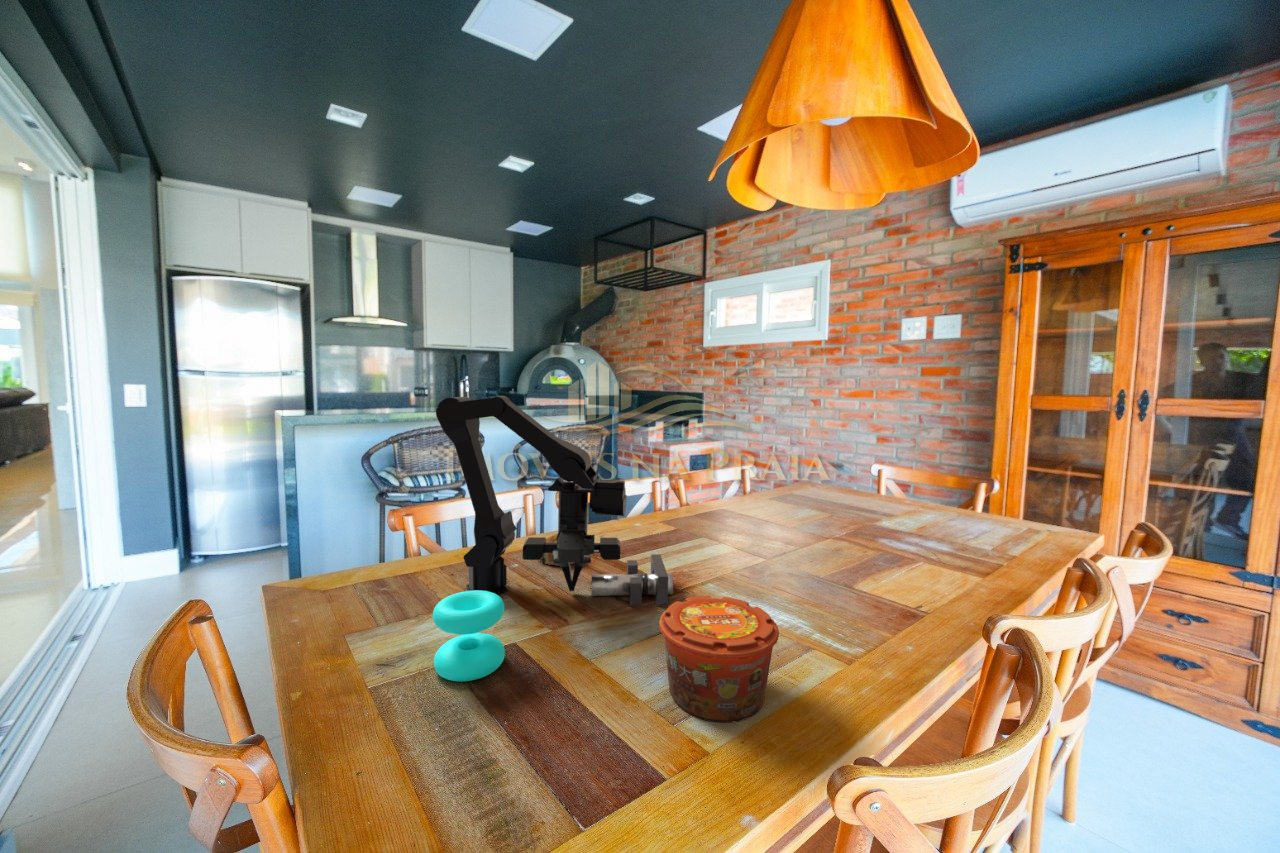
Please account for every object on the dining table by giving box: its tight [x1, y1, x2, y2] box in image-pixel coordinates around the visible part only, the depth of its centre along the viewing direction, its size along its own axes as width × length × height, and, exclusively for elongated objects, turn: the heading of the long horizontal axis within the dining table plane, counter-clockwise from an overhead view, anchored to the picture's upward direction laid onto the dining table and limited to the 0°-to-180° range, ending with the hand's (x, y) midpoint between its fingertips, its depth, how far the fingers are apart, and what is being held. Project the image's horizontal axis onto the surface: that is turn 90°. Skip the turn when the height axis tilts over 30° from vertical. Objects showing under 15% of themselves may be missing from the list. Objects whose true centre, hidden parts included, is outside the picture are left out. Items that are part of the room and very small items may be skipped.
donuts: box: [432, 590, 506, 682], centre depth 76 cm, size 10×10×10 cm
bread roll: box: [538, 533, 575, 567], centre depth 122 cm, size 10×10×8 cm
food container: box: [658, 595, 780, 723], centre depth 70 cm, size 16×16×11 cm
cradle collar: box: [626, 559, 642, 608], centre depth 103 cm, size 2×12×4 cm, turn 5°
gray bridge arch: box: [650, 553, 669, 607], centre depth 104 cm, size 2×12×6 cm, turn 5°
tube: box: [590, 573, 674, 597], centre depth 103 cm, size 16×4×4 cm, turn 94°
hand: (571, 590), depth 102 cm, fingers closed
